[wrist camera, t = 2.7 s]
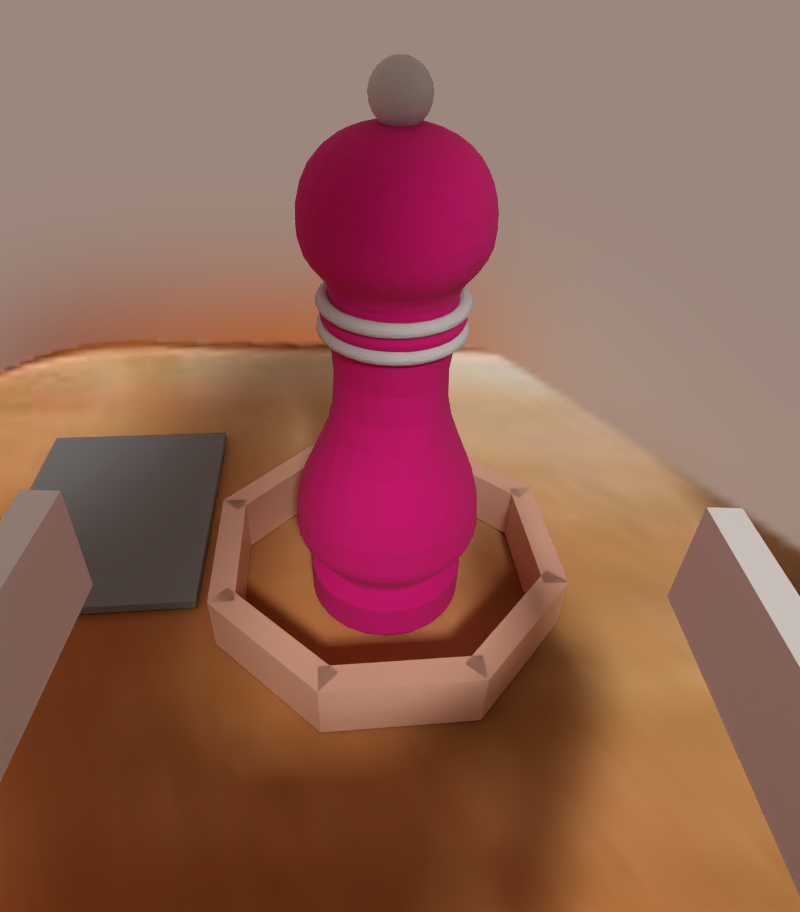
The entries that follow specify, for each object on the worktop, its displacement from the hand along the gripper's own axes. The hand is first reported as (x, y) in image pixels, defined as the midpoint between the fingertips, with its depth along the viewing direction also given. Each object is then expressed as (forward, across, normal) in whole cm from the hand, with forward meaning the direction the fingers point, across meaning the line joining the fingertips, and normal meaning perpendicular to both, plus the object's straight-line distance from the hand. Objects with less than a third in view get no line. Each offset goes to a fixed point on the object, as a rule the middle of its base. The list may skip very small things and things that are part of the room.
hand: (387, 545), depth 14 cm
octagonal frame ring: (+10, 0, -12) cm, 16 cm away
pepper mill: (+10, 0, -12) cm, 16 cm away
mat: (+14, -13, -12) cm, 22 cm away
